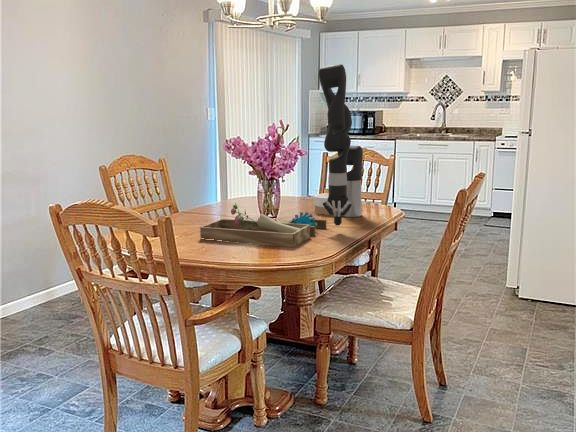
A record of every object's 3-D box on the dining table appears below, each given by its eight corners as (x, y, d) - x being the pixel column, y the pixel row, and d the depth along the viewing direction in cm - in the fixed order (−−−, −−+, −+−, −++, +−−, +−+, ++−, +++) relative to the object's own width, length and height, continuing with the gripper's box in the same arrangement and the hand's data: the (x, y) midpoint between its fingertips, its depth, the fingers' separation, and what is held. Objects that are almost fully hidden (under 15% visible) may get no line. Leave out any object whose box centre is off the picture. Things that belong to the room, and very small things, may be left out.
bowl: (350, 215, 277) (351, 198, 275) (315, 215, 277) (315, 198, 276) (348, 208, 294) (348, 192, 292) (314, 209, 294) (314, 193, 292)
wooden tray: (222, 230, 247) (221, 218, 246) (310, 236, 231) (310, 224, 230) (199, 239, 230) (199, 227, 229) (293, 247, 214) (293, 234, 214)
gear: (287, 228, 241) (295, 209, 245) (290, 235, 246) (298, 216, 250) (312, 233, 237) (320, 213, 242) (314, 241, 242) (322, 221, 246)
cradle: (295, 225, 254) (295, 217, 253) (326, 227, 248) (326, 219, 248) (280, 233, 239) (280, 224, 238) (313, 235, 234) (313, 227, 233)
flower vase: (292, 260, 224) (220, 233, 239) (307, 245, 233) (237, 220, 248) (293, 235, 218) (219, 209, 233) (309, 221, 227) (236, 196, 242)
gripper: (355, 182, 235) (355, 224, 239) (325, 181, 240) (325, 222, 244) (350, 185, 228) (350, 228, 232) (319, 184, 233) (319, 226, 237)
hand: (337, 225), depth 238 cm, fingers closed
